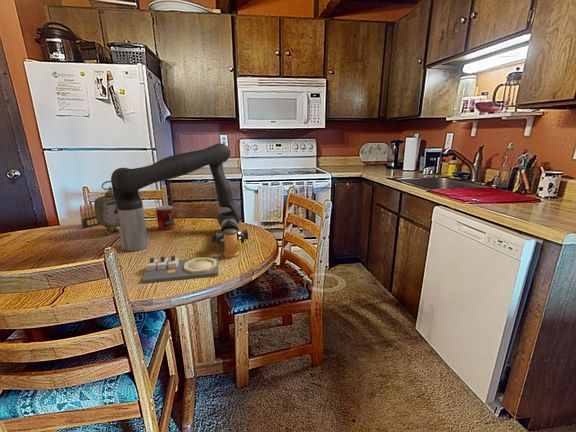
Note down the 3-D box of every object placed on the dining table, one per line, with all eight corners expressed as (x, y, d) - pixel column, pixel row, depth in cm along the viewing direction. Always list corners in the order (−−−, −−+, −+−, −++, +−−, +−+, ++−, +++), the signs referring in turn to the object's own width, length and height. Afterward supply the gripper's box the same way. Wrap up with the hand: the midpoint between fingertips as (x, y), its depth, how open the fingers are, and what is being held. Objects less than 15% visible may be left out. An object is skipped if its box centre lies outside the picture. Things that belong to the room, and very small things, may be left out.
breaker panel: (141, 283, 95) (139, 271, 94) (151, 264, 109) (149, 254, 107) (218, 275, 100) (217, 264, 99) (218, 258, 113) (217, 248, 112)
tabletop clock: (105, 237, 138) (95, 183, 131) (97, 233, 143) (87, 182, 136) (136, 229, 149) (129, 179, 142) (127, 226, 154) (120, 178, 147)
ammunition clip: (84, 228, 150) (79, 205, 147) (82, 228, 151) (77, 205, 148) (105, 223, 159) (101, 201, 156) (103, 222, 160) (99, 201, 157)
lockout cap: (223, 258, 114) (222, 233, 111) (223, 252, 119) (222, 229, 117) (239, 257, 115) (238, 232, 112) (238, 251, 121) (237, 227, 118)
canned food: (165, 231, 145) (162, 209, 142) (155, 228, 149) (152, 207, 146) (178, 227, 152) (175, 206, 149) (168, 225, 156) (165, 204, 153)
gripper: (212, 221, 127) (211, 234, 112) (245, 219, 130) (249, 231, 114) (213, 238, 129) (212, 252, 114) (246, 236, 132) (249, 249, 116)
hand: (230, 241), depth 114 cm, fingers open, 8 cm apart
